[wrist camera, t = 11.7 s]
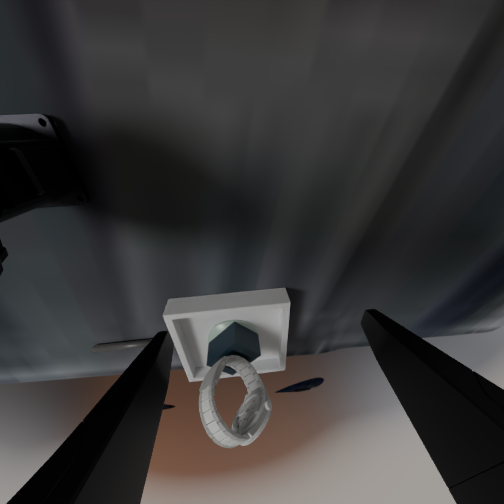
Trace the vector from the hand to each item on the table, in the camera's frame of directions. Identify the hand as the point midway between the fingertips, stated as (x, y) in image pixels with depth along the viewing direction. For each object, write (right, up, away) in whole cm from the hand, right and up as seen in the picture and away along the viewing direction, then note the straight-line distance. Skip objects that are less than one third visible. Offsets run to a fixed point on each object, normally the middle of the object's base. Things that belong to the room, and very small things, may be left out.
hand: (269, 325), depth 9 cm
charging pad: (-9, -9, +19) cm, 23 cm away
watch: (-3, -9, +19) cm, 21 cm away
